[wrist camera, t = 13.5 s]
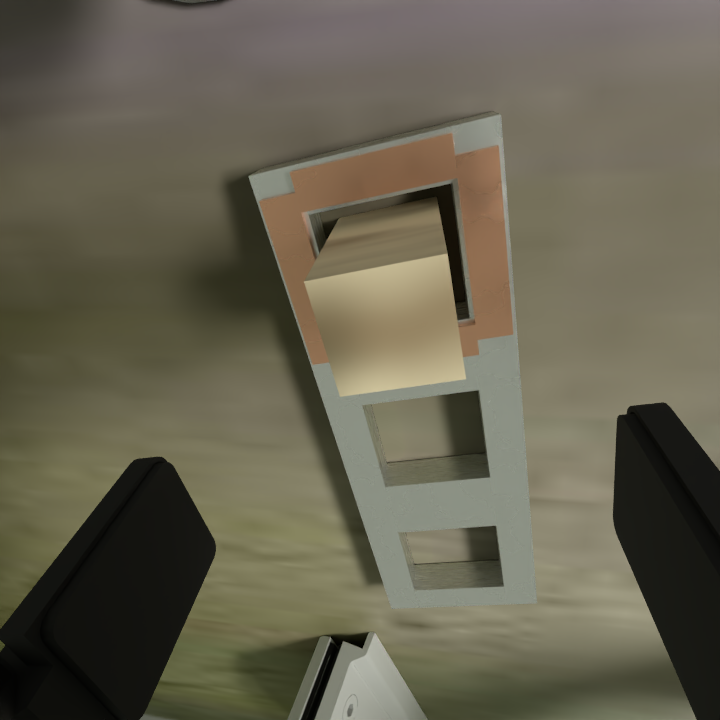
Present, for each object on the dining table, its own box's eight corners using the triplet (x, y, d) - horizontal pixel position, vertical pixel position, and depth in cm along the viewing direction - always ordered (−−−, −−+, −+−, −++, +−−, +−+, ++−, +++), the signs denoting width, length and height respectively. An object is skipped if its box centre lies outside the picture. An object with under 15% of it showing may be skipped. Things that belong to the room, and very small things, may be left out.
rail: (530, 576, 33) (537, 607, 31) (392, 582, 35) (391, 612, 33) (493, 110, 19) (502, 114, 17) (262, 168, 21) (245, 177, 19)
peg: (450, 289, 23) (466, 379, 16) (361, 305, 24) (340, 397, 17) (436, 196, 21) (447, 253, 14) (339, 217, 21) (303, 281, 15)
